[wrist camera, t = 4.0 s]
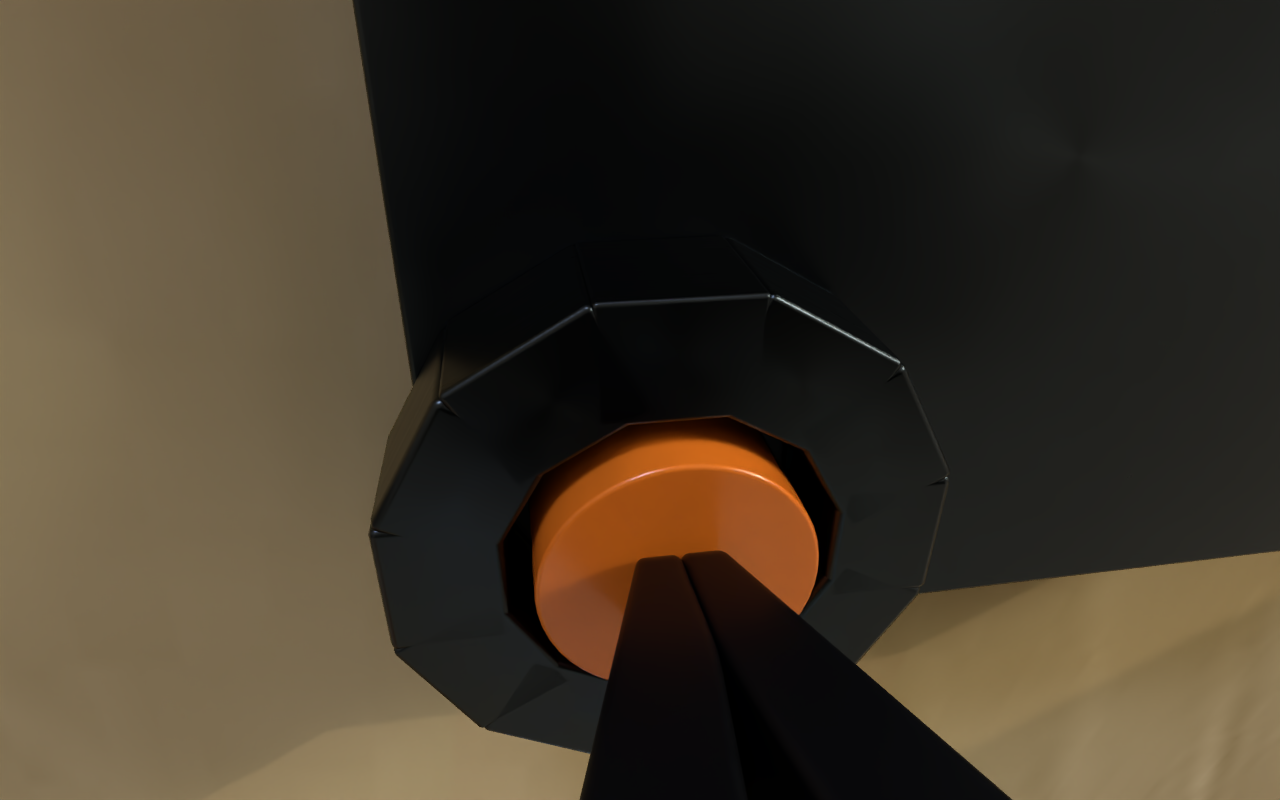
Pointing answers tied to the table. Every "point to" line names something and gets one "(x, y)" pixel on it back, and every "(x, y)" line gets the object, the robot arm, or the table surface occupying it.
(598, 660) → the button
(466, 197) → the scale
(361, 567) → the table surface
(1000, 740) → the table surface
